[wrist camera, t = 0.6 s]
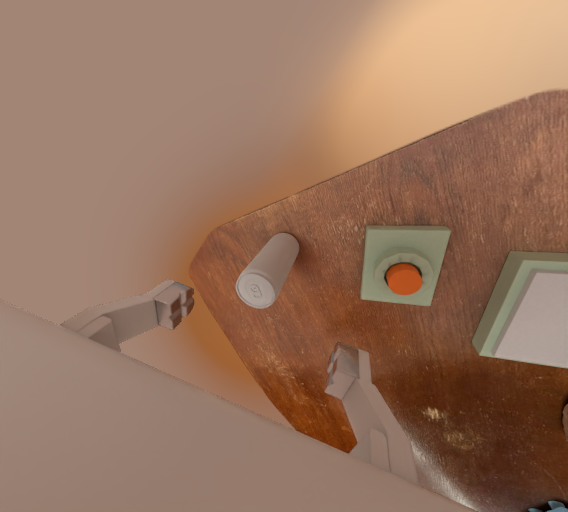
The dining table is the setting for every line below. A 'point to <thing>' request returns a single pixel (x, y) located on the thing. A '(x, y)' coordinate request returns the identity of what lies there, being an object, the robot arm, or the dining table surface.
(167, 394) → the robot arm
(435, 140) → the dining table surface
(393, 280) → the button
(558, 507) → the teapot
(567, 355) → the scale
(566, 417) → the tan stone pipe
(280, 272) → the beverage can
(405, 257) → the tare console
